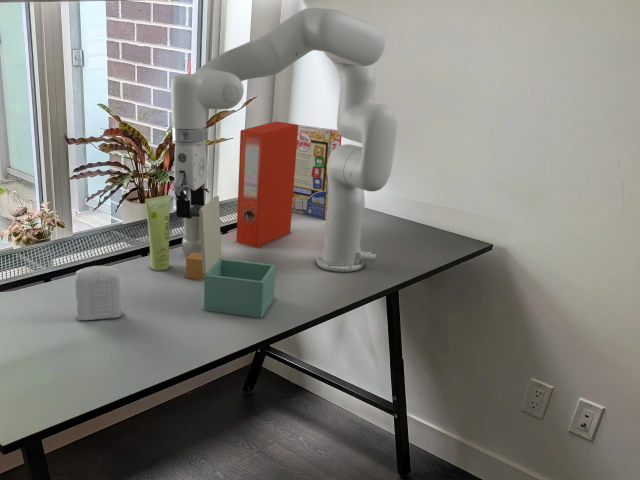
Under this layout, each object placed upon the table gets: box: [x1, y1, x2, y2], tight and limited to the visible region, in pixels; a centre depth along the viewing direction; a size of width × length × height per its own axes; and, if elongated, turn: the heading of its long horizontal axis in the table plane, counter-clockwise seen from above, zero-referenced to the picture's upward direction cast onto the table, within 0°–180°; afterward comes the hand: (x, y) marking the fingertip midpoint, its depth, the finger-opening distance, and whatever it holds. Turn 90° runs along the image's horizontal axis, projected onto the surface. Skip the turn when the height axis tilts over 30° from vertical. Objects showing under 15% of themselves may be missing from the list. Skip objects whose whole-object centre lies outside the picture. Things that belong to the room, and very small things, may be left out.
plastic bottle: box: [181, 186, 206, 256], centre depth 202 cm, size 6×7×20 cm
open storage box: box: [203, 258, 277, 319], centre depth 174 cm, size 14×12×9 cm
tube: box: [144, 194, 171, 271], centre depth 193 cm, size 6×5×20 cm
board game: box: [292, 124, 343, 220], centre depth 236 cm, size 20×6×27 cm, turn 46°
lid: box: [187, 195, 222, 273], centre depth 171 cm, size 15×12×5 cm
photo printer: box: [74, 265, 122, 321], centre depth 167 cm, size 10×4×12 cm, turn 103°
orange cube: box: [185, 252, 212, 281], centre depth 191 cm, size 6×5×6 cm
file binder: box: [235, 120, 299, 248], centre depth 212 cm, size 8×17×32 cm, turn 140°
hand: (190, 211), depth 170 cm, fingers open, 9 cm apart
